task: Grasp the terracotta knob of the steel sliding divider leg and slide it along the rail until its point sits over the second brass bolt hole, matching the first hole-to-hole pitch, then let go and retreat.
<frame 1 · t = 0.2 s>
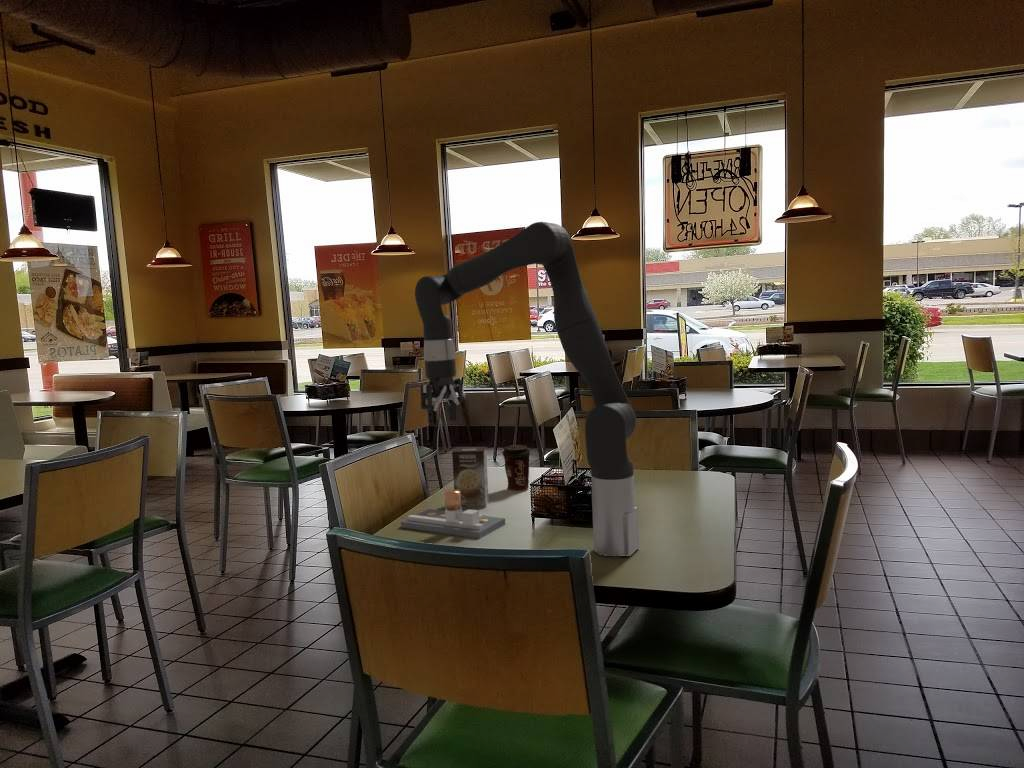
hand: (443, 423, 180), 27 cm above the table, fingers open, 8 cm apart
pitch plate: (453, 525, 185), on the table
coffee cup: (517, 490, 218), on the table
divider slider: (457, 504, 182), point 6 cm above the table, slide at 0.0 cm
coffee box: (472, 505, 204), on the table
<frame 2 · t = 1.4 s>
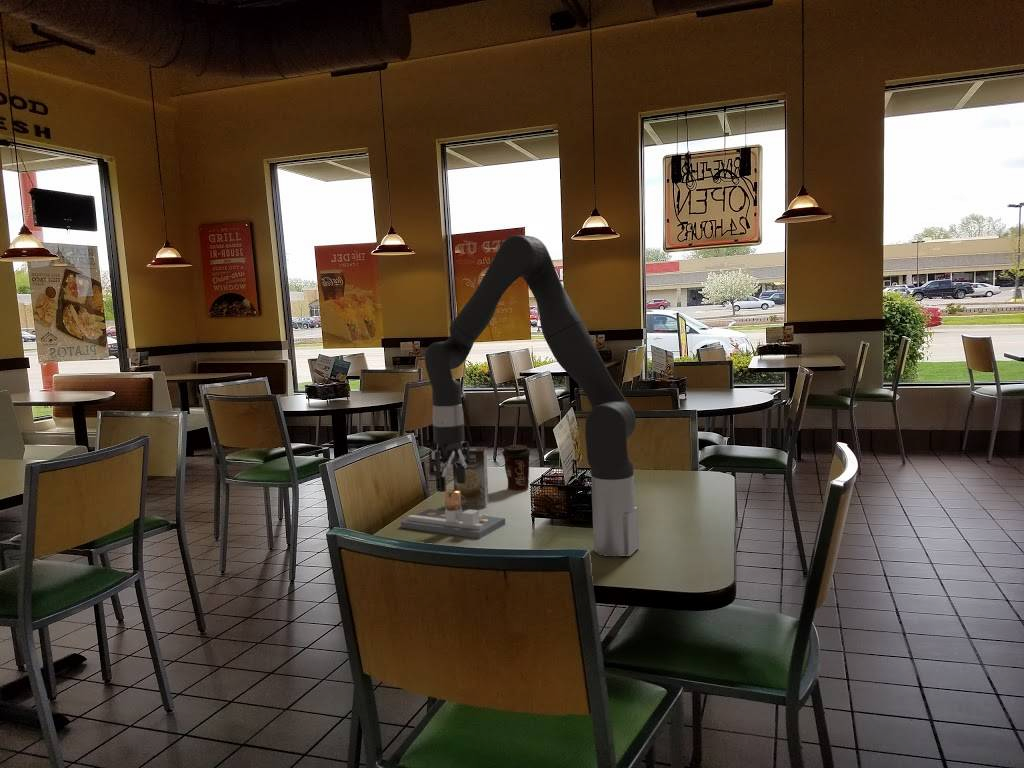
hand: (451, 487, 180), 11 cm above the table, fingers open, 8 cm apart
nothing on the table moved.
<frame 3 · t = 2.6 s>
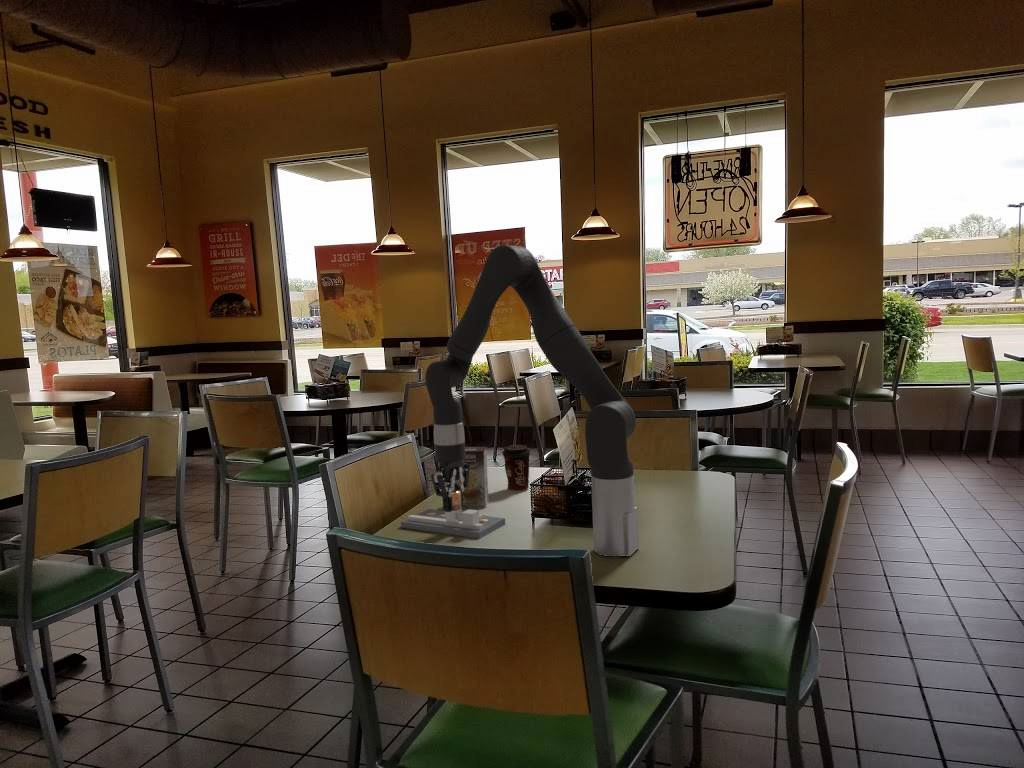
hand: (453, 508, 180), 6 cm above the table, fingers closed on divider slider, 4 cm apart
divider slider: (457, 504, 182), point 6 cm above the table, slide at 0.0 cm, touching gripper
everything else where it was.
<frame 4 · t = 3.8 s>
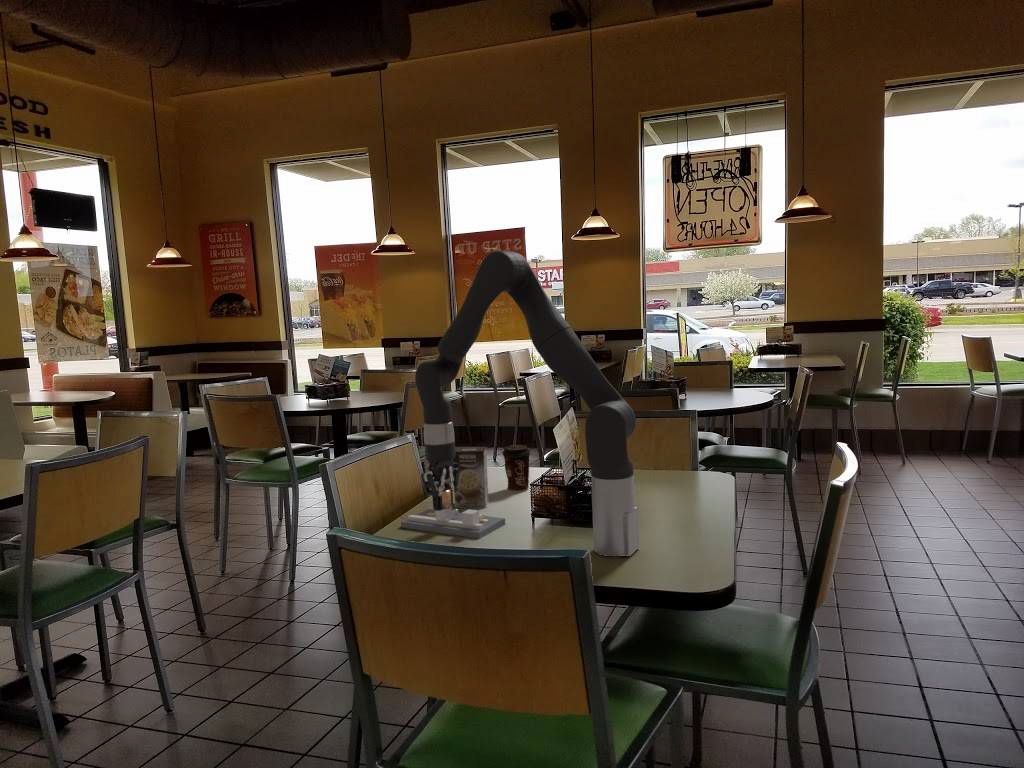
hand: (443, 507, 182), 6 cm above the table, fingers closed on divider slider, 4 cm apart
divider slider: (447, 503, 183), point 6 cm above the table, slide at 3.0 cm, touching gripper
everything else where it was.
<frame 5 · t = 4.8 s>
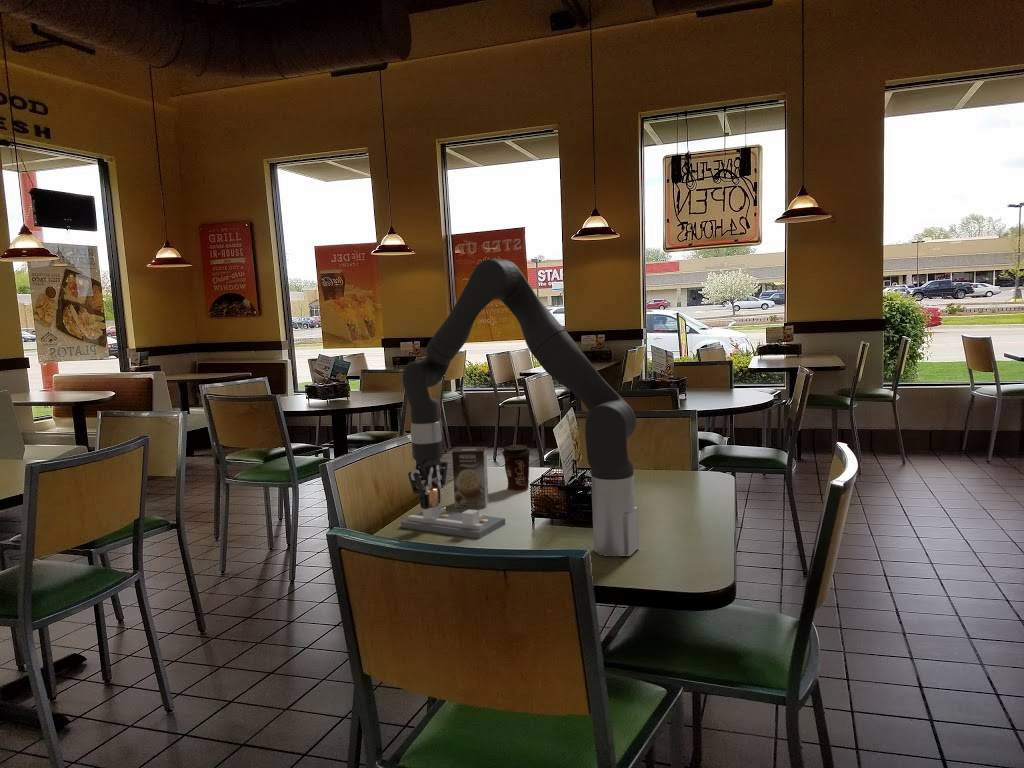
hand: (430, 505, 184), 6 cm above the table, fingers closed on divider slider, 4 cm apart
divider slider: (435, 501, 185), point 6 cm above the table, slide at 7.0 cm, touching gripper
everything else where it was.
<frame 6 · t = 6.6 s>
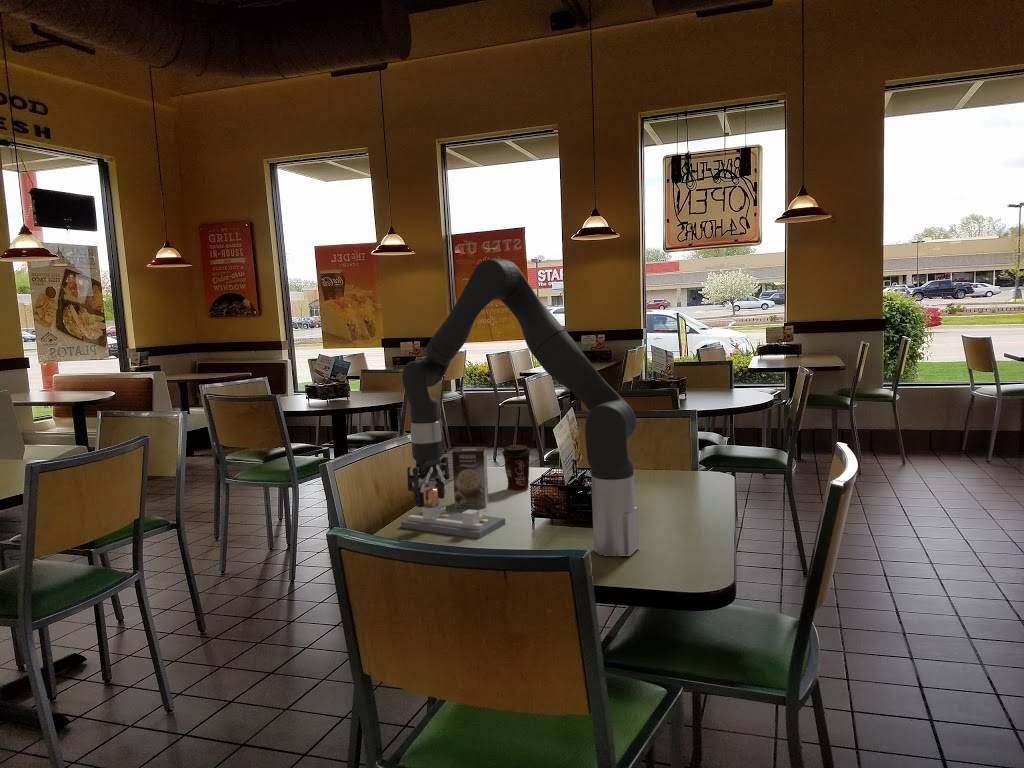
hand: (430, 502, 183), 7 cm above the table, fingers open, 8 cm apart
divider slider: (435, 501, 185), point 6 cm above the table, slide at 7.0 cm
everything else where it was.
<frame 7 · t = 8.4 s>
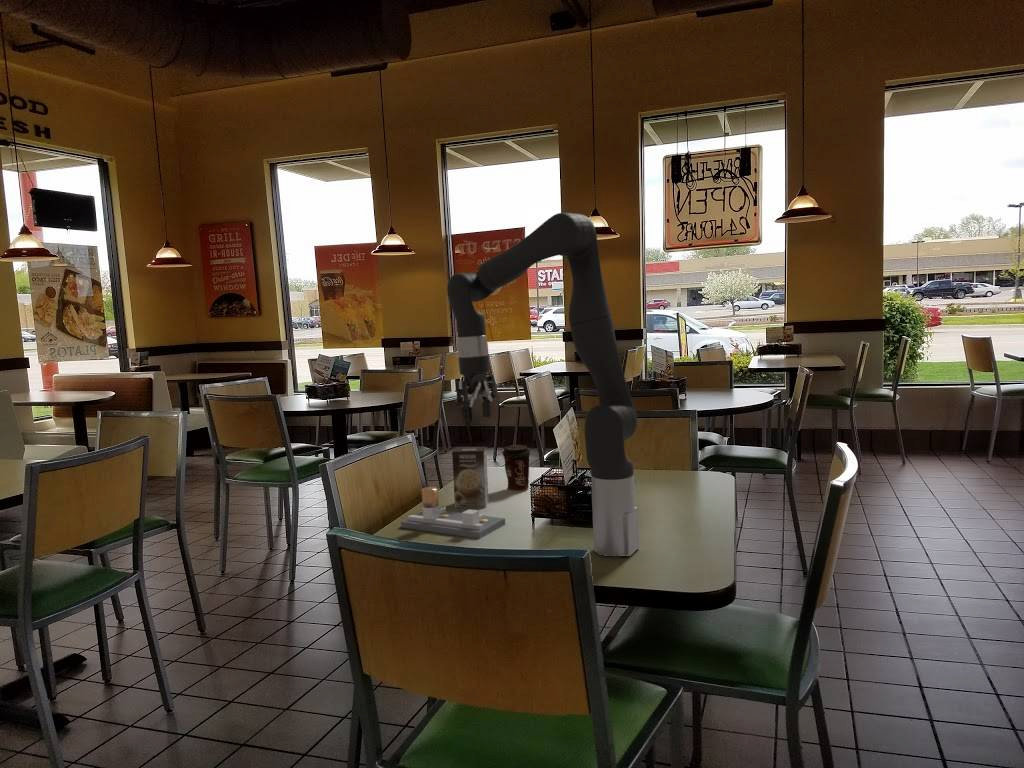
hand: (478, 419, 180), 27 cm above the table, fingers open, 8 cm apart
nothing on the table moved.
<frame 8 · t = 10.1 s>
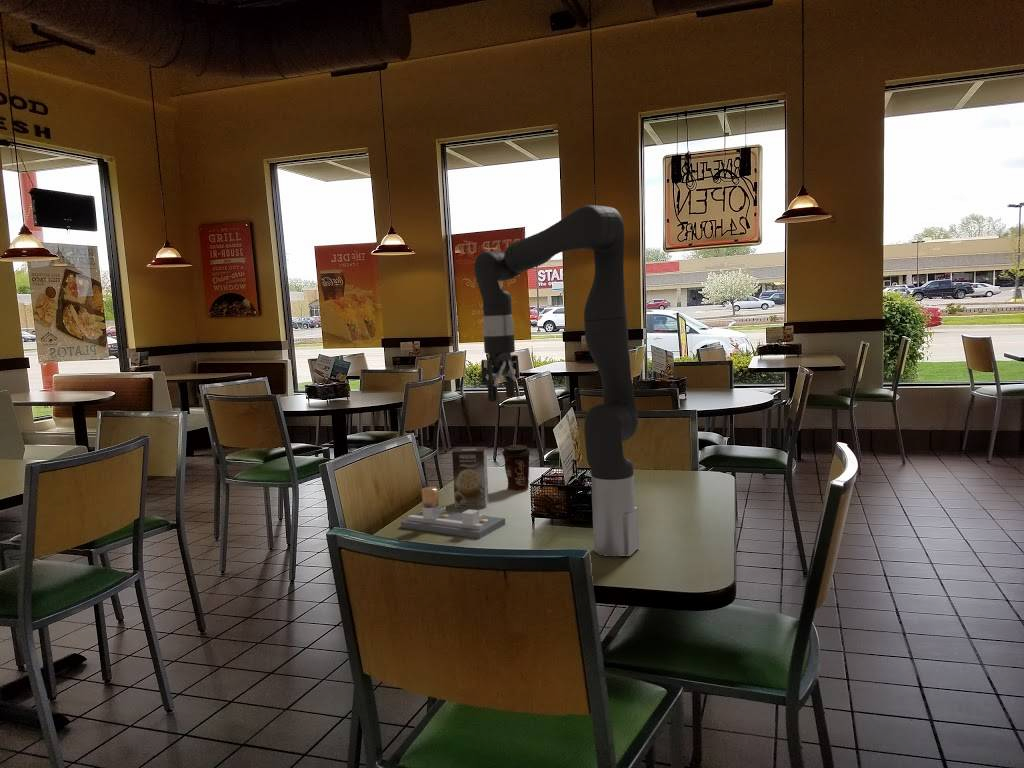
hand: (502, 399, 180), 32 cm above the table, fingers open, 8 cm apart
nothing on the table moved.
at the end: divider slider slide at 7.0 cm; the gripper is holding nothing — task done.
